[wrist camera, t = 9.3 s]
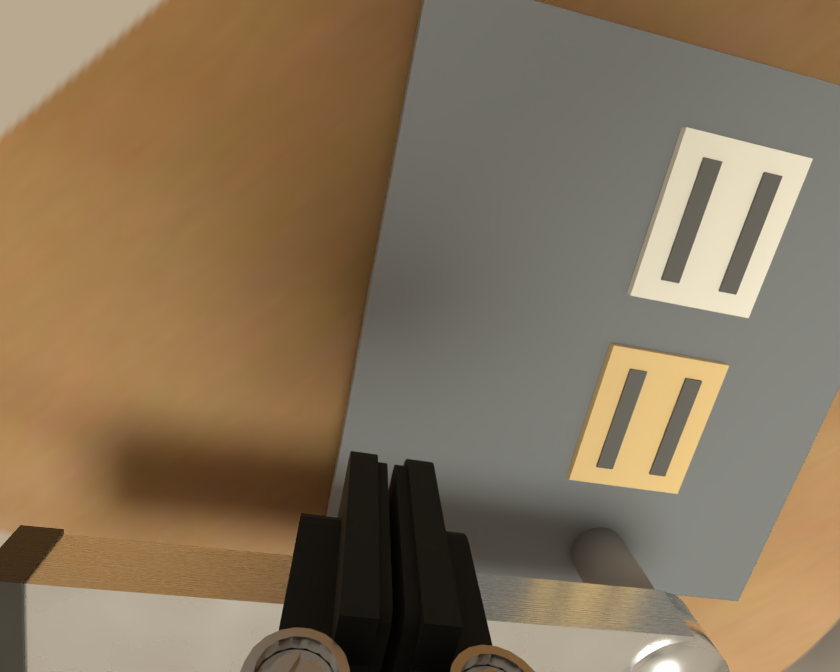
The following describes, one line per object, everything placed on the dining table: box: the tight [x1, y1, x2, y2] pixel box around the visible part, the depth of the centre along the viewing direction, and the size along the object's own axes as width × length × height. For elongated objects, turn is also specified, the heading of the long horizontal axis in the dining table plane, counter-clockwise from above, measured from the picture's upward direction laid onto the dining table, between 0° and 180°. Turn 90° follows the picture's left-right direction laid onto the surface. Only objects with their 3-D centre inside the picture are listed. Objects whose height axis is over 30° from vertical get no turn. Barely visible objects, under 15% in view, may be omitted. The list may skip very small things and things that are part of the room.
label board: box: [326, 0, 840, 601], centre depth 20 cm, size 22×20×6 cm
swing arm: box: [0, 525, 730, 672], centre depth 18 cm, size 23×4×2 cm, turn 78°
